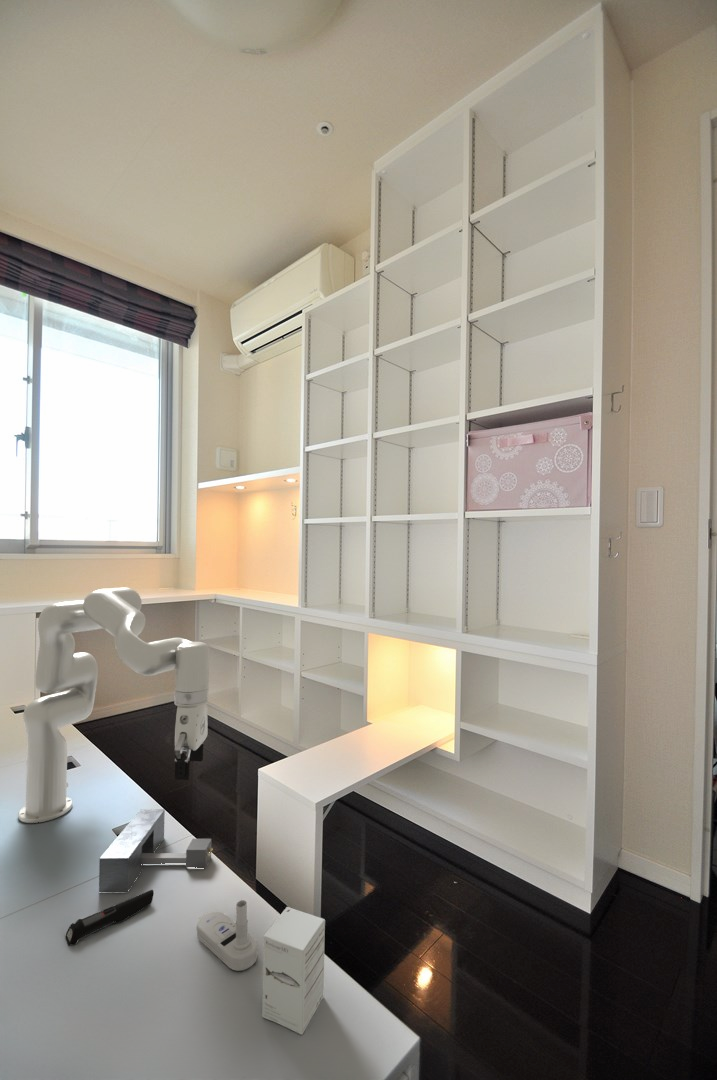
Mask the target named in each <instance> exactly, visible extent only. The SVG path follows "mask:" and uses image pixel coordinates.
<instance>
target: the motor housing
mask: <svg viewBox="0 0 717 1080" xmlns="http://www.w3.org/2000/svg"><path fill="white" fill-rule="evenodd" d="M165 812H166V811H165V809H161V808H160V809H158V808H157V809H154V808H151V809H148V808H143V809H141V808H140V809H139V811H138V812H137V813H136V815H135V816H134V817H132V819H131V820H130V822H129V823H128V824H127V825H126V826H125V827H124V829H122V831H121V832H120V833H119V835H118V836H116V838H115V839H114V840H113V842H112V843H111V844H110V845H109V846H108V848H107V849H106V850H105V851H104V852H103V853H102V854H101V856H100V857H99V870H98V873H99V874H98V893H99V892H128V890H129V889H130V888H132V887H133V886H134V884H135V883H134V881H135V880H136V878H137V877H138V876H139V877H140V875H141V874H140V872H141V873H142V866H141V858H142V853H154V851H155V850H156V848H157V847H158V846H159V847H160V845H161V844H162V842H163V841H162V840H165ZM161 841H162V842H161ZM160 843H161V844H160ZM159 844H160V845H159ZM159 847H158V848H159ZM158 848H157V849H158ZM156 851H157V850H156ZM156 851H155V852H156ZM139 874H140V875H139ZM139 877H138V878H139ZM138 878H137V879H138ZM136 881H137V880H136ZM136 881H135V882H136ZM133 883H134V884H133ZM132 885H133V886H132ZM131 886H132V887H131ZM130 890H131V889H130ZM130 890H129V891H130ZM128 893H129V892H128Z"/></svg>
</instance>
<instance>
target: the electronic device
mask: <svg viewBox="0 0 717 1080" xmlns="http://www.w3.org/2000/svg"><path fill="white" fill-rule="evenodd" d="M247 903H248V902H247V901H246V900H242V899H241V900H239V901H237V902H236V905H235V906H236V907H235V908H236V911H235V912H236V913H235V914H236V916H235V917H236V920H235V921H236V922H235V921H234V920H233V919H231V918H230V917H229V916H228V915H227V914H225V913H224V912H222V911H219V910H212V911H209V912H207V913H204V914H203V915H201V916H200V918H199V919H198V921H197V922H196V923H197V924H196V936H197V939H198V940H199V941H200V942H201V943H202V944H203V945H204V946H205V947H206V948H207V949H209V950H210V951H211V952H212V953H213V954H214V955H215V956H216V957H218V959H219V960H220V961H221V962H223V963H224V964H225V965H226V966H227V967H228V968H229V969H230V970H233V971H237V972H238V971H239V972H240V971H245V970H247V969H249V968H251V967H252V966H253V965H254V964H255V963H256V962H257V959H258V956H259V953H258V951H259V950H258V949H259V948H258V941H257V940H256V938H255V937H254V936H252V935H251V934H250V933H249V932H248V928H249V927H248V925H249V924H248V921H249V920H248V915H247V914H248V911H247V907H248V906H247Z"/></svg>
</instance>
